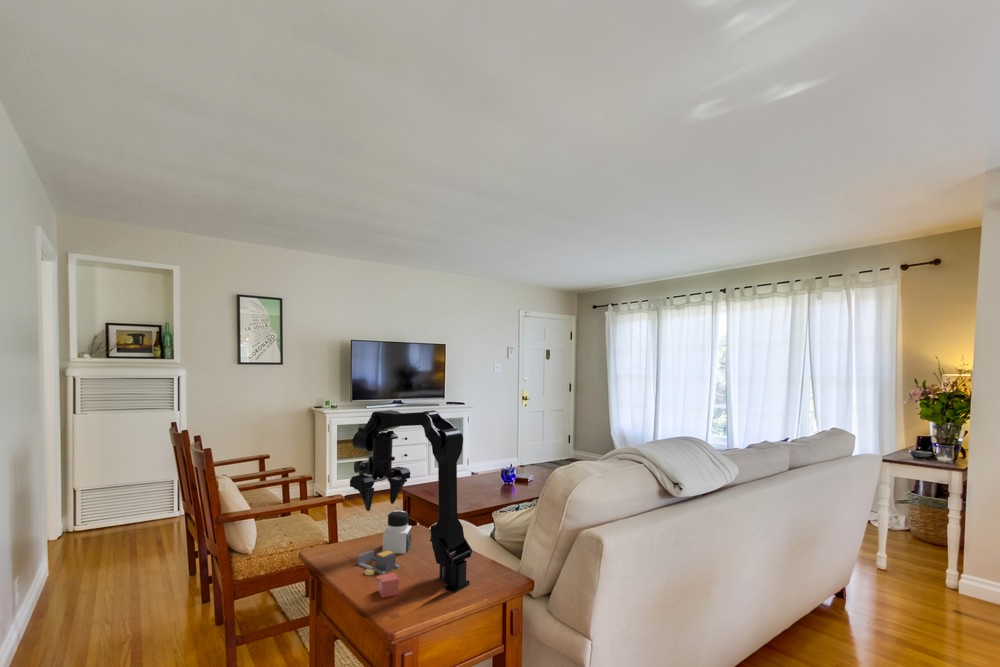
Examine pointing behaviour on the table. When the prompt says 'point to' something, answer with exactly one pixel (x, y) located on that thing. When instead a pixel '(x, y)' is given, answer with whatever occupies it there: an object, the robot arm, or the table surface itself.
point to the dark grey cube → (385, 560)
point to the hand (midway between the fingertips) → (380, 507)
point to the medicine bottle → (397, 533)
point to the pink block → (388, 585)
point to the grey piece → (368, 557)
